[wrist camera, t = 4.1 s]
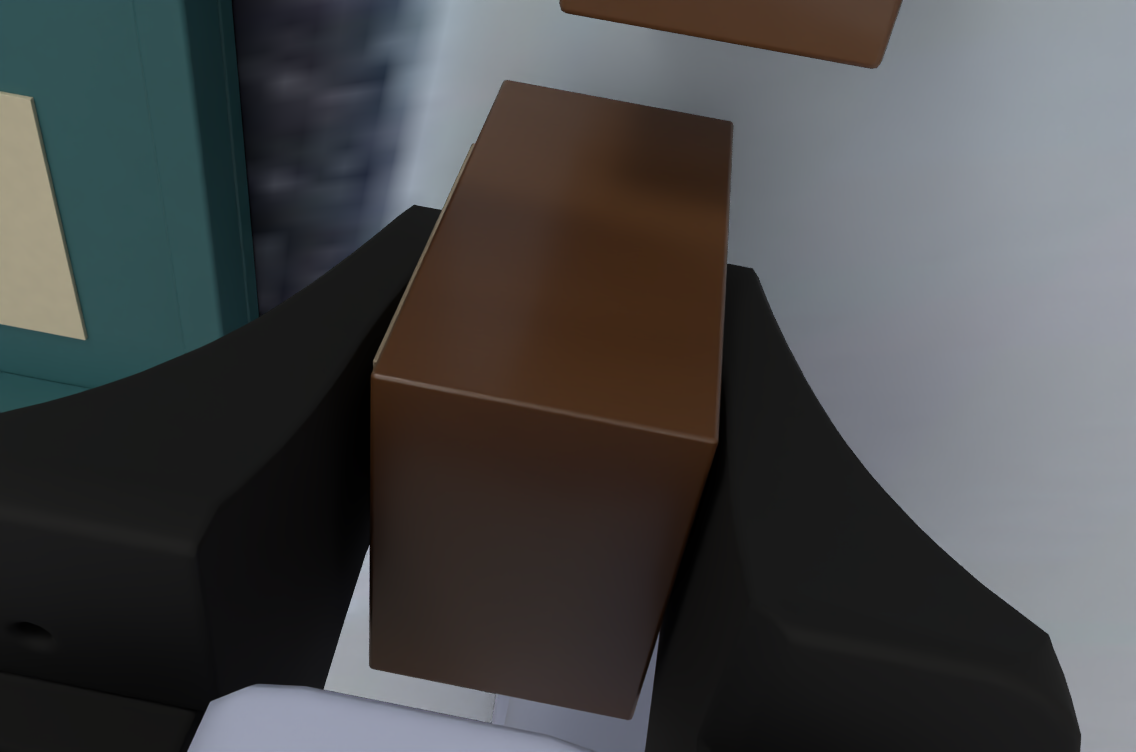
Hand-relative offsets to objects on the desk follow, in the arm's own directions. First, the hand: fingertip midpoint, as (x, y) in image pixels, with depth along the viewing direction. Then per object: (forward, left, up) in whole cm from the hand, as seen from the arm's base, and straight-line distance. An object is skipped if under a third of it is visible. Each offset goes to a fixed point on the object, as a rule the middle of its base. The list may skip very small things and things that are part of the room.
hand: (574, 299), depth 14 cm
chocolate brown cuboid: (0, 0, -1) cm, 1 cm away
